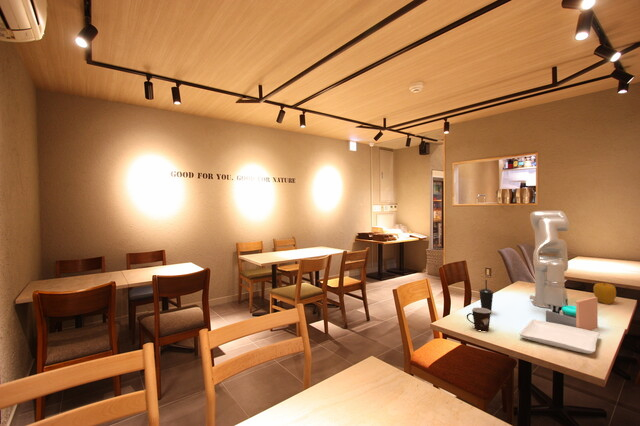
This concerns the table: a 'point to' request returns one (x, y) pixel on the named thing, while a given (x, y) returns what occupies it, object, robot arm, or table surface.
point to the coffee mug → (481, 318)
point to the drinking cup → (486, 297)
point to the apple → (604, 292)
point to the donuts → (569, 310)
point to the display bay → (578, 315)
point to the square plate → (561, 336)
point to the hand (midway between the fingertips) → (556, 317)
